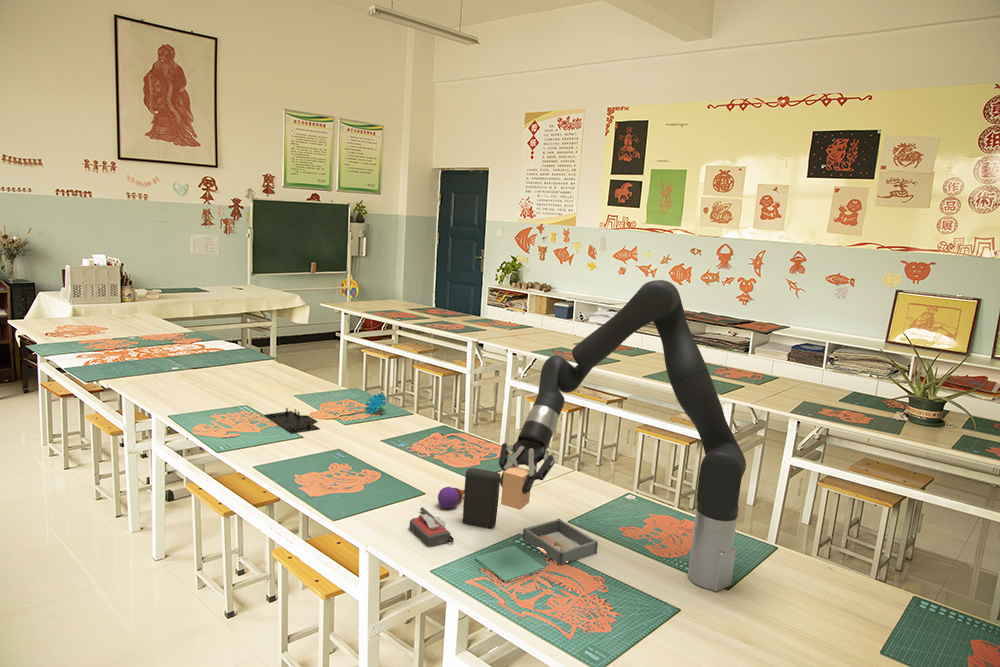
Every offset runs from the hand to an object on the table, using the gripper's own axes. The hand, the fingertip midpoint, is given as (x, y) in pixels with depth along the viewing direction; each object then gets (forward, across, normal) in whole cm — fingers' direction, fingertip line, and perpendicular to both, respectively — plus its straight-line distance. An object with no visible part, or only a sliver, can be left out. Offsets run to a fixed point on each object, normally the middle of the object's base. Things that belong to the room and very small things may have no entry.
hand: (513, 489), depth 150 cm
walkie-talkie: (+11, -26, +18) cm, 33 cm away
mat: (+13, 0, +15) cm, 20 cm away
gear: (-41, -101, +69) cm, 129 cm away
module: (+2, 0, +4) cm, 5 cm away
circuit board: (-19, -116, +48) cm, 127 cm away
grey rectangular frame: (+2, +6, +26) cm, 27 cm away
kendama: (-5, -28, +33) cm, 44 cm away
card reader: (+3, -16, +26) cm, 30 cm away
